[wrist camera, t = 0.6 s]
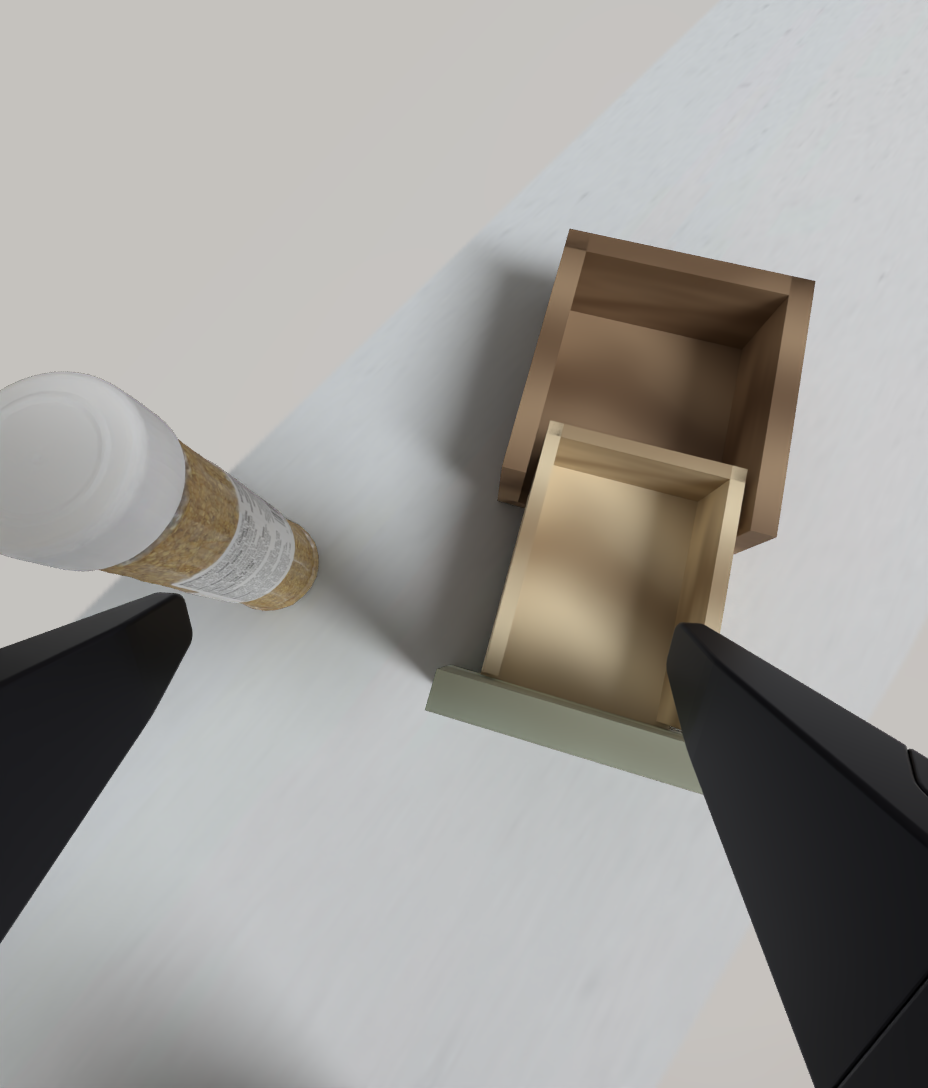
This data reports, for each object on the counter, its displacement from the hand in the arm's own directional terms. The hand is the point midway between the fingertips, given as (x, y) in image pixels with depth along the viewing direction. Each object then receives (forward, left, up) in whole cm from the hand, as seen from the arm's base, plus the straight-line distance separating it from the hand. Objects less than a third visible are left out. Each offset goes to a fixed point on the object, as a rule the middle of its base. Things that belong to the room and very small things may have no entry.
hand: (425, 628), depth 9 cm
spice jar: (+4, +8, -14) cm, 17 cm away
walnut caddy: (+11, -10, -14) cm, 20 cm away
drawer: (+2, -7, -14) cm, 16 cm away
